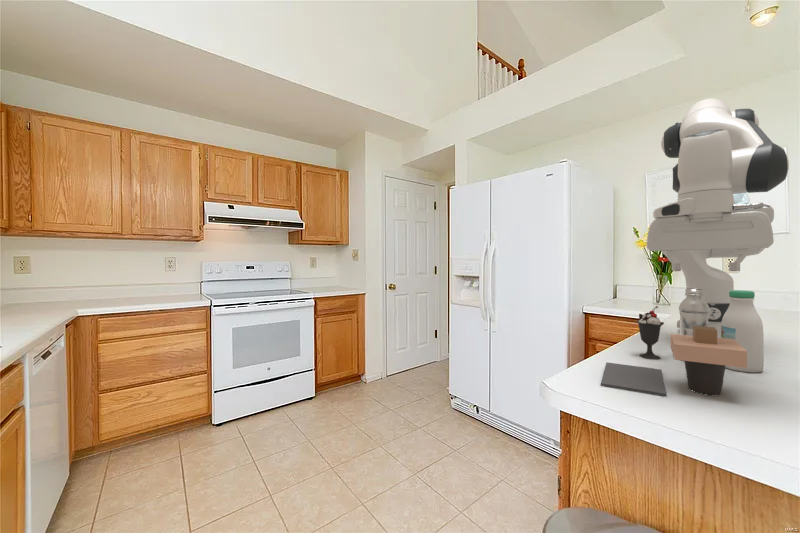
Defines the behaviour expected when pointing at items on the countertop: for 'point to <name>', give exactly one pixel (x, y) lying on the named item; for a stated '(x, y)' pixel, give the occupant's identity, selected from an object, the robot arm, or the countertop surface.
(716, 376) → the coffee cup
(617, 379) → the mat
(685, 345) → the cover
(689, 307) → the plastic bottle
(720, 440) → the countertop surface
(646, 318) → the sundae
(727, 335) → the milk bottle
